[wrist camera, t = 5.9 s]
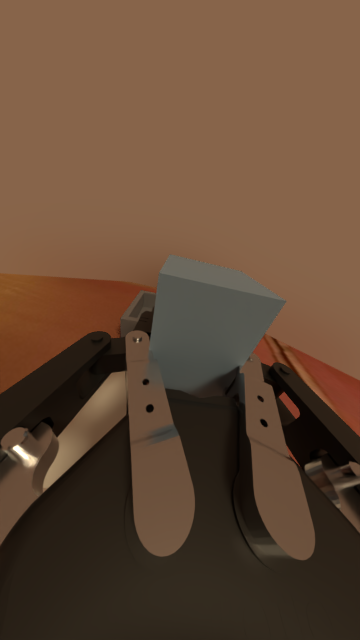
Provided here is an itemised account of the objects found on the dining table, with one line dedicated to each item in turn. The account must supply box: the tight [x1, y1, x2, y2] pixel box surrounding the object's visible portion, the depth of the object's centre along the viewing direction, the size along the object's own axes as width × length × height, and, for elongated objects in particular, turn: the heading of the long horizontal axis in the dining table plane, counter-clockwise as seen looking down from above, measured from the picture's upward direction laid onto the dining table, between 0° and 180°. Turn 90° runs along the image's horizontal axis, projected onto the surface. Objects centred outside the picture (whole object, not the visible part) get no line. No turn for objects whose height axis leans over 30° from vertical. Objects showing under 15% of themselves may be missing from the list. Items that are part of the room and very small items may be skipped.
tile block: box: [149, 255, 286, 398], centre depth 10 cm, size 5×5×12 cm
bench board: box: [43, 371, 126, 492], centre depth 14 cm, size 16×12×2 cm
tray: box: [120, 290, 156, 338], centre depth 25 cm, size 16×11×4 cm
